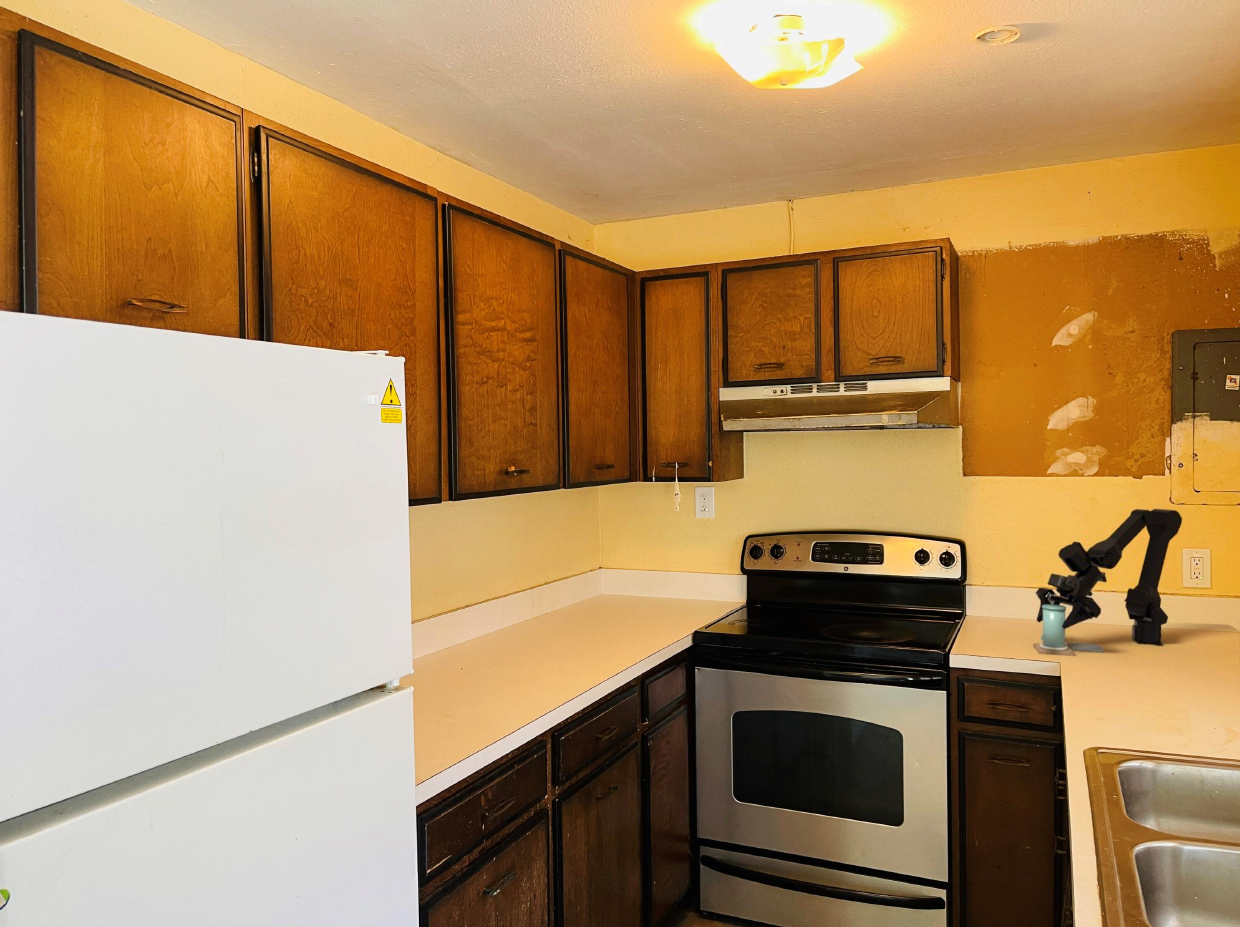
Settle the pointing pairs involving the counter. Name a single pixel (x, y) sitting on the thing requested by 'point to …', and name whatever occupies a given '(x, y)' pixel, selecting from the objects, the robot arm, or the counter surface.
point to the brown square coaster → (1054, 650)
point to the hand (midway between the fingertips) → (1050, 624)
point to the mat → (1085, 647)
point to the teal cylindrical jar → (1053, 626)
